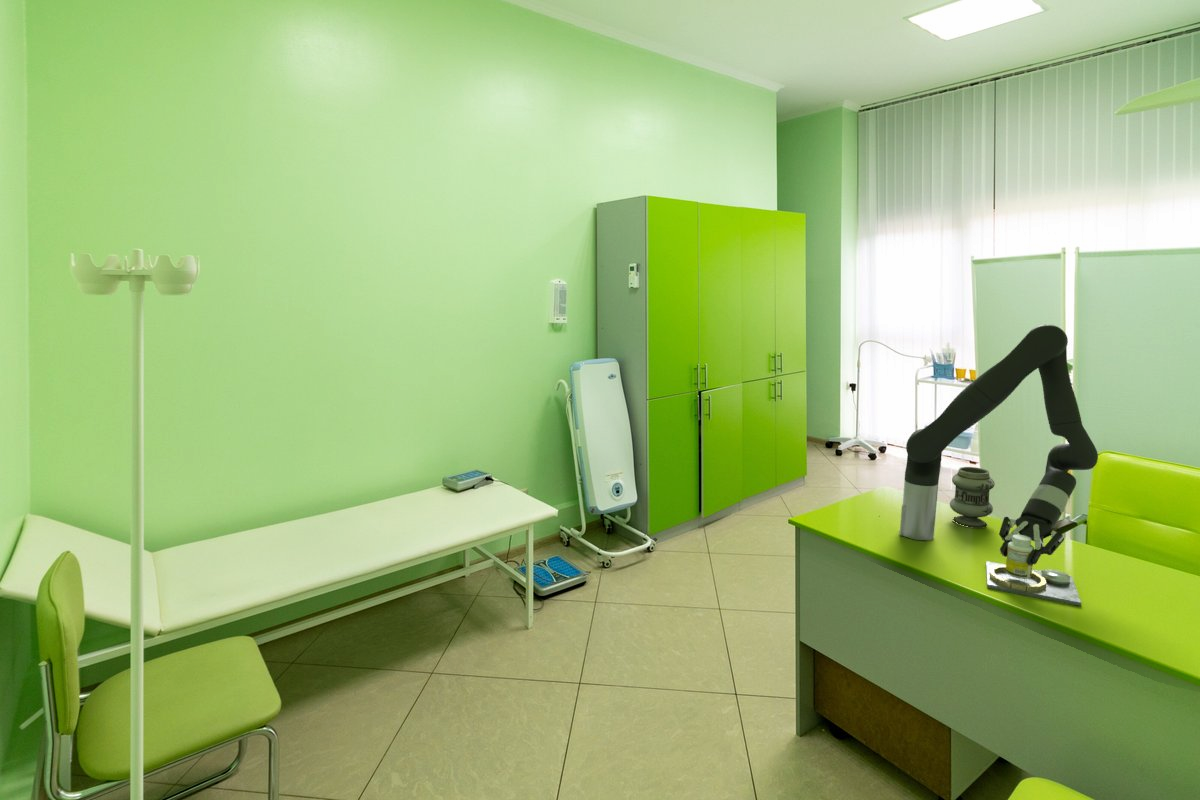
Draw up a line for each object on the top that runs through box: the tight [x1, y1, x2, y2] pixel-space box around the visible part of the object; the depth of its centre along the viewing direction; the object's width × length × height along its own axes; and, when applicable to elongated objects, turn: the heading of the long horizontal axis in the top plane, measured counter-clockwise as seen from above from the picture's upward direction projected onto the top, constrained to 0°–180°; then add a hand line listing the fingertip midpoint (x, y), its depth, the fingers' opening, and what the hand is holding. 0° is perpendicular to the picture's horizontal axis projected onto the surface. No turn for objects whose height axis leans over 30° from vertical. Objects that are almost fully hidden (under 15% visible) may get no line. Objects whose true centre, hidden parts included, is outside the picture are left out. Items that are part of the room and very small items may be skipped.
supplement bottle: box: [1005, 534, 1035, 579], centre depth 157 cm, size 6×6×10 cm
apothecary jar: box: [949, 466, 995, 529], centre depth 199 cm, size 12×12×18 cm
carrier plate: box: [985, 560, 1082, 607], centre depth 158 cm, size 19×16×2 cm
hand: (1016, 559), depth 157 cm, fingers closed on supplement bottle, 5 cm apart
